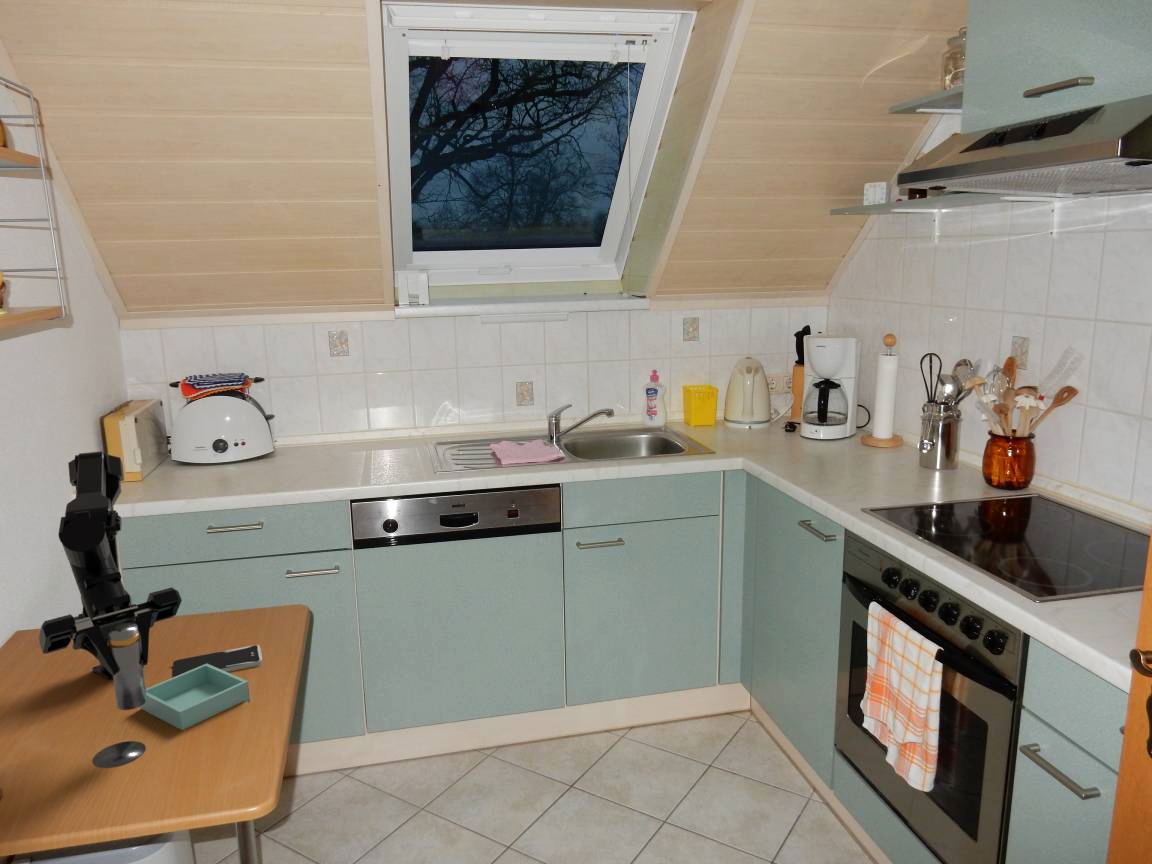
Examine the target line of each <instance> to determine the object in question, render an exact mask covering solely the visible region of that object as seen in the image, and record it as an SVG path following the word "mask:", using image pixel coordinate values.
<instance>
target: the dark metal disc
mask: <svg viewBox="0 0 1152 864" xmlns="http://www.w3.org/2000/svg"><path fill="white" fill-rule="evenodd" d="M146 749H147V748H146V745H145V744H144V743H143V742H141V741H134V740H131V741H130V740H128V741H121V742H118V743H114V744H112V745H111V744H110V745H109V746H107V747H104V748H102V749H101V750H100V751H98V752H97V753H96V754H95V755H94V757H93V758H92V763H93V765H94V766H95V767H97V768H102V769H110V768H111V769H113V768H117V767H121V766H124V765H127V764H130V763H132V762H135V761H136V760H137V759H139V758H141V757H142V756H143V754H144V753H145V752H146Z"/></svg>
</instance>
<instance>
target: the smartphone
mask: <svg viewBox="0 0 1152 864" xmlns="http://www.w3.org/2000/svg"><path fill="white" fill-rule="evenodd" d="M204 664H209V665H212V666H214V667H216V668H218V669H221V670H223V671H225V672H228V673H230V672H233V671H239V669H240V670H244V669H249V668H256V667H259V666H260V667H261V666H262V665H263V664H264V661H263V655H262V649H261V646H260V645H259V644H254V645H248V646H242V647H238V648H232V649H227V650H221V651H217V652H211V653H207V654H201V655H196V656H195V655H194V656H191V657H185V658H182V659H181V658H179V659H176V660H174V661H173V663H172V678H173V677H176V676H178V675H180V674H183V673H185V672H188V671H190V670H192V669H195V668H197V667H200V666H202V665H204Z"/></svg>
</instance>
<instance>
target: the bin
mask: <svg viewBox="0 0 1152 864" xmlns="http://www.w3.org/2000/svg"><path fill="white" fill-rule="evenodd" d="M145 690H146V697H147V701H146V703H145V704H143V705H142V706H140V708H141V710H143V711H144V712H147V713H149V714H150V715H152V716H154V717H156V718H158V719H160V720H161V721H164V722H166V723H168V724H170V725H171V726H173V727H175V728H177V729H180V731H184V730H186V729H188V728H190V727H192V726H195V725H197V724H199V723H200V722H203V721H205V720H206V719H208V718H211V717H213V716H215V715H217V714H220V713H222V712H224V711H226V710H228V709H230V708H233V707H234V706H237V705H238V704H240V703H243V702H246V703H250V702H251V697H250V696H251V695H250V694H251V693H250V687H249V680H247V679H243V678H241V677H240V676H237V675H234V674H232V673H230V672H225V671H223V670H221V669H218V668H216V667H214V666H212V665H209V664H204V665H202V666H200V667H197V668H195V669H192V670H190V671H188V672H185V673H183V674H180V675H178V676H176V677H173V676H172V677H171V678H169V679H167V680H164V681H162V682H159V683H157V684H154V685H153V686H149V687H148V688H145Z"/></svg>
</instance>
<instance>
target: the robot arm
mask: <svg viewBox="0 0 1152 864" xmlns="http://www.w3.org/2000/svg"><path fill="white" fill-rule="evenodd" d="M67 464H68V466H67V467H68V474H69V478H68V479H69V483H70V485H71V486H72V487H75V491H76V492H75V498H74V499H72V500H71V501H69V502H68V503H66V507H65V512H64V516H61V517H60V521H59V522H60V523H59V528H58V538H59V541H60V543H61V544H62V547H63V550H64V552H65V555H66V557H67V560H68V563H69V566H70V569H71V572H72V574H73V577H74V580H75V583H76V586H77V588H78V592H79V594H80V601H81V604H82V613H78V615H77V616H74V615H72V614H67V615H63V616H58V617H56V618H52V619H49V620H44V621H43V623H42V625H41V626H40V630H39V631H40V632H39V637H38V642H39V646H40V648H41V653H42V654H50V653H53V652H56V651H60V650H64V649H66V648H68V646H69V645H70V643H72V641H73V643H72V649H73V650H75V651H77V650H83V651H86V652H88V653H90V654H91V655H92V656H93V657H94V658H95V659H96V660H98V662H99V664H98V665H96V666H93V667H92V669H91V670H92V672H94V673H96V674H97V675H100V676H102V677H104V678H106V679H109V680H111V679H113V675H116V669H115V665H114V661H113V659H112V657H111V654H110V651H109V646H108V642H107V637H108V636H107V630H108V629H109V628H111V627H113V626H115V625H118V624H123V623H135V624H137V626H138V631H139V636H140V639H139V642H140V650H141V658H142V666H143V667H144V666H147V665H148V663H149V641H150V639H149V638H150V637H149V636H150V630H151V628H153V627H154V625H155V623H157V622H161V621H165V620H168V619H171V618H173V617H175V616H176V615H177V612H178V610H179V608H180V606H181V604H182V597H181V595H180V592H179V590H177V589H175V588H174V587H168V588H164V589H161V590H157V591H153V592H149V594H148V597H147V599H146V602H143V603H139V604H137V603H133V598H132V596H131V595H130V593H129V592H128V591H127V590H126V589H125V586H124V584H123V582H122V575H121V571H120V564H119V563H120V561H119V552H118V551H119V550H118V543H117V542H118V540H117V535H118V534H119V532H120V531H122V523H123V522H122V516H120V515H119V512H118V511H117V510H116V509H114V506H115V504H116V501H117V500H118V498H119V497H120V495H121V494H122V493H121V492H122V484H121V482H124V481H125V475H124V474H125V473H124V467H123V466H124V465H123V462H122V458H121V457H119V456H115V455H111V454H108V452H107V451H106V452H104V451H103V450H102V451H92V452H83V453H78V454H77V455H76V454H75V455H74V459H72V460H70V461H69V462H68V463H67Z"/></svg>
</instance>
